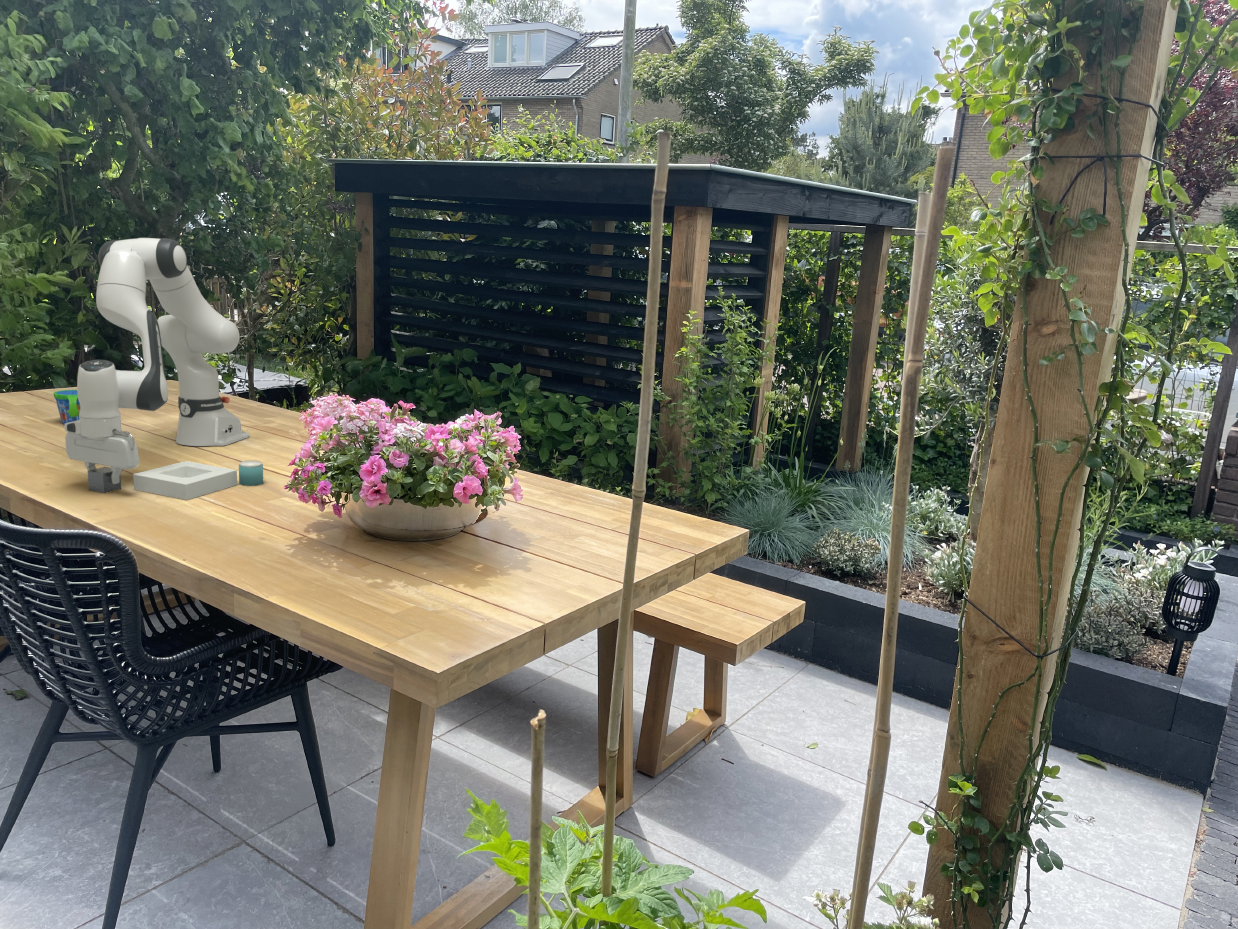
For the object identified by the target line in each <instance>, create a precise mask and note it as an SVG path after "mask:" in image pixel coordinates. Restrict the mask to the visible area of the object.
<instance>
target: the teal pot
mask: <svg viewBox="0 0 1238 929" xmlns="http://www.w3.org/2000/svg"><path fill="white" fill-rule="evenodd" d="M238 484H239V485H240V486H245V487H254V486H255V487H256V486H260V485H263V484H264V464H263V462H262V461H260V460H252V459H251V460H250V459H249V460H243V461H240V462H239V463H238Z"/></svg>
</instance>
